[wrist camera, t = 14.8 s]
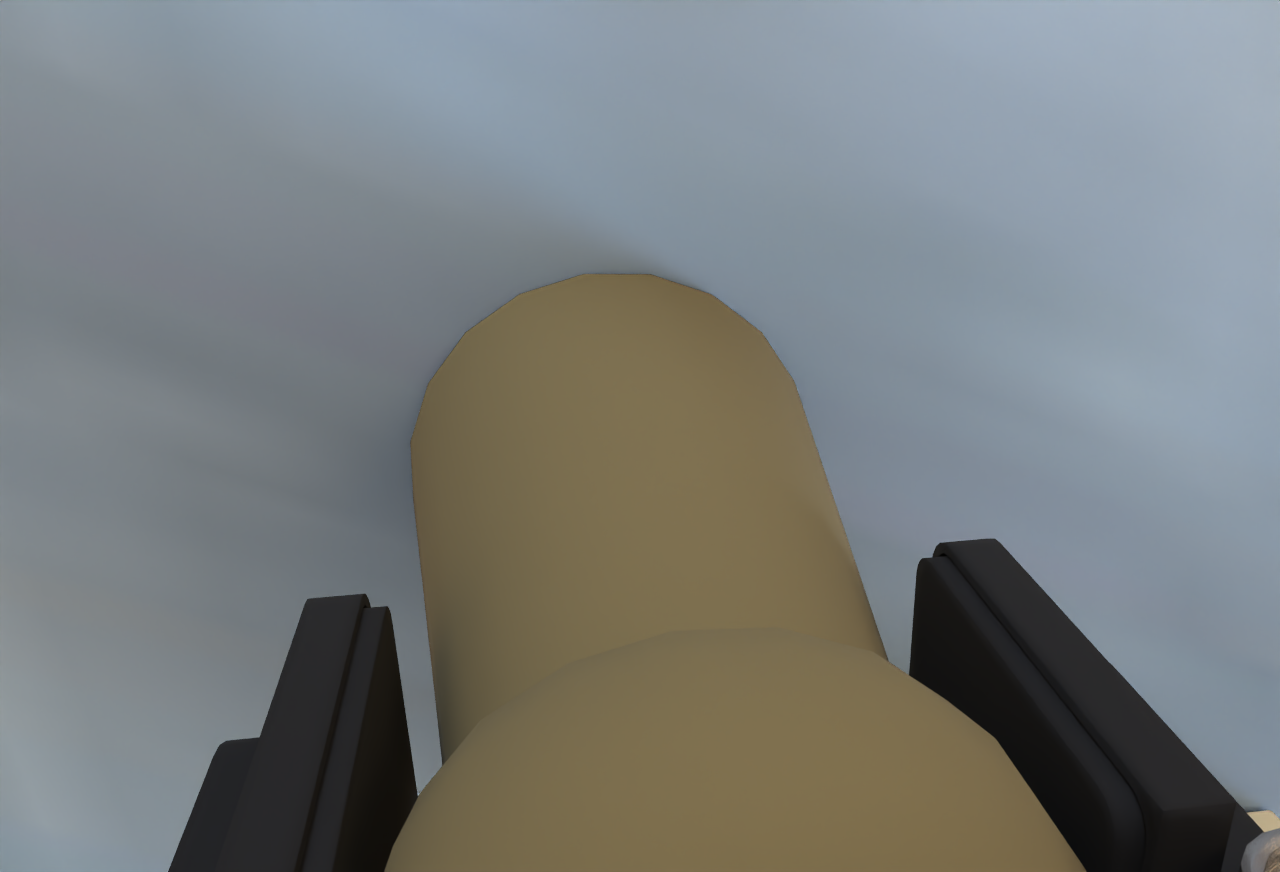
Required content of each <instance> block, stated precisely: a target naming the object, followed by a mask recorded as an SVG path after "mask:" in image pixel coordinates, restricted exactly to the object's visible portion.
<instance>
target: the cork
mask: <svg viewBox="0 0 1280 872" xmlns="http://www.w3.org/2000/svg"><path fill="white" fill-rule="evenodd" d="M410 444H411V463H412V482H413V501H414V510H415V519H416V528H417V537H418V546H419V555H420V564H421V573H422V583H423V592H424V601H425V610H426V619H427V628H428V637H429V646H430V655H431V665H432V674H433V683H434V692H435V701H436V710H437V719H438V728H439V737H440V747H441V756H442V765H443V766H442V767H441V768H440V770H439V771H438V772H437V773H436V775H435V776H434V777H433V778H432V779H431V781H430V782H429V783H428V784H427V785H426V787H425V788H424V789H423V790H422V791H421V793H420V795H419V796H418V798H417V800H416V802H415V804H414V806H413V808H412V810H411V812H410V814H409V816H408V818H407V820H406V822H405V824H404V826H403V828H402V830H401V832H400V834H399V835H398V837H397V839H396V841H395V843H394V845H393V847H392V850H391V853H390V856H389V859H388V862H387V865H386V868H385V871H384V872H1086V870H1085V868H1084V867H1083V865H1082V864H1081V862H1080V861H1079V859H1078V858H1077V856H1076V855H1075V853H1074V852H1073V850H1072V849H1071V848H1070V846H1069V845H1068V843H1067V842H1066V840H1065V839H1064V837H1063V836H1062V834H1061V833H1060V831H1059V830H1058V828H1057V827H1056V825H1055V824H1054V823H1053V821H1052V820H1051V818H1050V817H1049V815H1048V814H1047V812H1046V811H1045V809H1044V808H1043V806H1042V805H1041V803H1040V802H1039V801H1038V799H1037V798H1036V796H1035V795H1034V793H1033V792H1032V790H1031V789H1030V787H1029V786H1028V785H1027V783H1026V782H1025V780H1024V779H1023V777H1022V776H1021V774H1020V773H1019V772H1018V770H1017V769H1016V767H1015V766H1014V764H1013V763H1012V761H1011V760H1010V759H1009V757H1008V756H1007V754H1006V753H1005V751H1004V750H1003V748H1002V747H1001V746H1000V744H999V743H998V741H997V740H996V738H994V737H993V736H992V735H991V734H989V733H988V732H987V731H985V730H984V729H983V728H982V727H980V726H979V725H978V724H977V723H975V722H974V721H973V720H971V719H970V718H969V717H968V716H966V715H965V714H964V713H962V712H961V711H960V710H959V709H957V708H956V707H955V706H954V705H952V704H951V703H950V702H948V701H947V700H946V699H944V698H943V697H941V696H940V695H938V694H937V693H935V692H934V691H932V690H931V689H929V688H928V687H926V686H925V685H923V684H921V683H920V682H918V681H917V680H915V679H914V678H912V677H911V676H909V675H908V674H906V673H905V672H903V671H902V670H900V669H899V668H897V667H896V666H894V665H893V664H891V663H890V662H889V661H888V658H887V655H886V652H885V649H884V646H883V643H882V640H881V637H880V634H879V631H878V628H877V625H876V622H875V619H874V616H873V613H872V610H871V607H870V604H869V602H868V599H867V596H866V593H865V590H864V587H863V584H862V581H861V578H860V575H859V572H858V569H857V566H856V563H855V560H854V557H853V554H852V551H851V548H850V545H849V542H848V539H847V536H846V533H845V531H844V528H843V525H842V522H841V519H840V516H839V513H838V510H837V507H836V504H835V501H834V498H833V495H832V492H831V489H830V486H829V483H828V480H827V477H826V474H825V471H824V468H823V465H822V462H821V459H820V457H819V454H818V451H817V448H816V445H815V442H814V439H813V436H812V433H811V430H810V427H809V424H808V421H807V418H806V415H805V412H804V409H803V406H802V403H801V400H800V397H799V394H798V391H797V388H796V385H795V383H794V380H793V379H792V377H791V376H790V374H789V373H788V371H787V370H786V368H785V367H784V365H783V364H782V362H781V361H780V359H779V358H778V356H777V355H776V353H775V352H774V350H773V349H772V347H771V346H770V344H769V343H768V341H767V340H766V338H765V337H764V335H763V334H762V332H761V331H759V330H758V329H757V328H755V327H754V326H753V325H751V324H750V323H749V322H748V321H746V320H745V319H744V318H742V317H741V316H740V315H738V314H737V313H736V312H734V311H733V310H732V309H730V308H729V307H728V306H726V305H725V304H724V303H722V302H721V301H720V300H718V299H717V298H716V297H714V296H713V295H711V294H708V293H705V292H702V291H699V290H696V289H693V288H690V287H687V286H684V285H681V284H678V283H675V282H672V281H669V280H666V279H663V278H660V277H657V276H654V275H651V274H583V275H579V276H576V277H573V278H570V279H567V280H563V281H560V282H557V283H554V284H551V285H547V286H544V287H541V288H538V289H535V290H532V291H528V292H525V293H522V294H519V295H518V296H516V297H515V298H514V299H512V300H511V301H509V302H508V303H507V304H505V305H504V306H502V307H501V308H499V309H498V310H497V311H495V312H494V313H492V314H491V315H490V316H488V317H487V318H485V319H484V320H483V321H481V322H480V323H478V324H477V325H475V326H474V327H473V328H471V329H470V330H468V331H467V332H466V333H465V334H464V335H463V337H462V338H461V339H460V341H459V342H458V344H457V345H456V346H455V348H454V349H453V350H452V352H451V353H450V355H449V356H448V357H447V359H446V360H445V361H444V363H443V364H442V365H441V367H440V368H439V370H438V371H437V372H436V374H435V375H434V376H433V378H432V379H431V380H430V382H429V383H428V386H427V389H426V392H425V396H424V399H423V402H422V405H421V409H420V412H419V415H418V419H417V422H416V425H415V428H414V432H413V435H412V438H411V442H410Z"/></svg>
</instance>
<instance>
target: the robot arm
mask: <svg viewBox="0 0 1280 872" xmlns="http://www.w3.org/2000/svg"><path fill="white" fill-rule="evenodd" d="M909 676H911V677H912V678H914V679H915V680H917V681H918V682H920V683H921V684H923V685H925V686H926V687H928V688H929V689H931V690H932V691H934V692H935V693H937V694H938V695H940V696H941V697H943V698H944V699H946V700H947V701H948V702H950V703H951V704H952V705H954V706H955V707H956V708H957V709H959V710H960V711H961V712H962V713H964V714H965V715H966V716H968V717H969V718H970V719H971V720H973V721H974V722H975V723H977V724H978V725H979V726H980V727H982V728H983V729H984V730H985V731H987V732H988V733H989V734H991V735H992V736H993V737H994V738H996V740H997V741H998V743H999V744H1000V746H1001V747H1002V748H1003V750H1004V751H1005V753H1006V754H1007V756H1008V757H1009V759H1010V760H1011V761H1012V763H1013V764H1014V766H1015V767H1016V769H1017V770H1018V772H1019V773H1020V774H1021V776H1022V777H1023V779H1024V780H1025V782H1026V783H1027V785H1028V786H1029V787H1030V789H1031V790H1032V792H1033V793H1034V795H1035V796H1036V798H1037V799H1038V801H1039V802H1040V803H1041V805H1042V806H1043V808H1044V809H1045V811H1046V812H1047V814H1048V815H1049V817H1050V818H1051V820H1052V821H1053V823H1054V824H1055V825H1056V827H1057V828H1058V830H1059V831H1060V833H1061V834H1062V836H1063V837H1064V839H1065V840H1066V842H1067V843H1068V845H1069V846H1070V848H1071V849H1072V850H1073V852H1074V853H1075V855H1076V856H1077V858H1078V859H1079V861H1080V862H1081V864H1082V865H1083V867H1084V868H1085V870H1086V872H1280V828H1278V829H1274V830H1271V831H1267V832H1264V831H1263V830H1262V829H1261V828H1260V827H1259V826H1258V825H1257V823H1256V822H1255V821H1254V820H1253V819H1252V818H1251V817H1250V816H1249V815H1248V814H1247V813H1246V811H1245V810H1244V809H1243V808H1242V807H1241V806H1240V805H1239V804H1238V803H1237V802H1236V800H1235V799H1234V798H1233V797H1232V796H1231V795H1230V794H1229V793H1228V792H1227V791H1226V789H1225V788H1224V787H1223V786H1222V785H1221V784H1220V783H1219V782H1218V781H1217V780H1216V778H1215V777H1214V776H1213V775H1212V774H1211V773H1210V772H1209V771H1208V770H1207V769H1206V768H1205V766H1204V765H1203V764H1202V763H1201V762H1200V761H1199V760H1198V759H1197V758H1196V757H1195V755H1194V754H1193V753H1192V752H1191V751H1190V750H1189V749H1188V748H1187V747H1186V746H1185V744H1184V743H1183V742H1182V741H1181V740H1180V739H1179V738H1178V737H1177V736H1176V735H1175V733H1174V732H1173V731H1172V730H1171V729H1170V728H1169V727H1168V726H1167V725H1166V724H1165V723H1164V721H1163V720H1162V719H1161V718H1160V717H1159V716H1158V715H1157V714H1156V713H1155V712H1154V710H1153V709H1152V708H1151V707H1150V706H1149V705H1148V704H1147V703H1146V702H1145V701H1144V699H1143V698H1142V697H1141V696H1140V695H1139V694H1138V693H1137V692H1136V691H1135V690H1134V689H1133V687H1132V686H1131V685H1130V684H1129V683H1128V682H1127V681H1126V680H1125V679H1124V678H1123V676H1122V675H1121V674H1120V673H1119V672H1118V671H1117V670H1116V669H1115V668H1114V667H1113V666H1112V665H1111V664H1110V663H1109V662H1108V661H1107V660H1106V659H1105V658H1104V657H1103V655H1102V654H1101V653H1100V652H1099V651H1098V650H1097V649H1096V648H1095V647H1094V646H1093V644H1092V643H1091V642H1090V641H1089V640H1088V639H1087V638H1086V637H1085V636H1084V635H1083V633H1082V632H1081V631H1080V630H1079V629H1078V628H1077V627H1076V626H1075V625H1074V624H1073V622H1072V621H1071V620H1070V619H1069V618H1068V617H1067V616H1066V615H1065V614H1064V613H1063V611H1062V610H1061V609H1060V608H1059V607H1058V606H1057V605H1056V604H1055V603H1054V602H1053V600H1052V599H1051V598H1050V597H1049V596H1048V595H1047V594H1046V593H1045V592H1044V591H1043V589H1042V588H1041V587H1040V586H1039V585H1038V584H1037V583H1036V582H1035V581H1034V580H1033V579H1032V577H1031V576H1030V575H1029V574H1028V573H1027V572H1026V571H1025V570H1024V569H1023V568H1022V566H1021V565H1020V564H1019V563H1018V562H1017V561H1016V560H1015V559H1014V558H1013V557H1012V555H1011V554H1010V553H1009V552H1008V551H1007V550H1006V549H1005V548H1004V547H1003V546H1002V544H1001V543H1000V542H998V541H997V540H996V539H979V540H968V541H956V542H945V543H939V544H938V545H937V546H936V548H935V551H934V553H933V557H932V558H922V559H921V560H920V562H919V564H918V568H917V575H916V588H915V602H914V616H913V630H912V643H911V657H910V671H909ZM417 798H418V796H417V789H416V782H415V775H414V768H413V761H412V754H411V747H410V741H409V734H408V727H407V720H406V713H405V706H404V699H403V692H402V686H401V679H400V672H399V665H398V658H397V651H396V644H395V637H394V630H393V624H392V618H391V613H390V610H389V608H388V606H385V607H374V608H371V607H370V602H369V599H368V597H367V595H366V594H357V595H345V596H334V597H323V598H312V599H307V601H306V603H305V605H304V608H303V611H302V614H301V617H300V620H299V623H298V626H297V629H296V632H295V635H294V638H293V641H292V644H291V647H290V650H289V652H288V655H287V658H286V661H285V664H284V667H283V670H282V673H281V676H280V679H279V682H278V685H277V688H276V691H275V694H274V697H273V700H272V703H271V706H270V709H269V711H268V714H267V717H266V720H265V723H264V726H263V729H262V732H261V735H260V738H250V739H240V740H230V741H225V742H224V743H222V744H221V745H219V747H218V749H217V751H216V753H215V754H214V756H213V759H212V761H211V764H210V766H209V769H208V771H207V774H206V777H205V779H204V782H203V784H202V787H201V789H200V792H199V794H198V797H197V800H196V802H195V805H194V807H193V810H192V812H191V815H190V817H189V820H188V822H187V825H186V828H185V830H184V833H183V835H182V838H181V840H180V843H179V845H178V848H177V851H176V853H175V856H174V858H173V861H172V863H171V866H170V868H169V871H168V872H384V871H385V868H386V865H387V862H388V859H389V856H390V853H391V850H392V847H393V845H394V843H395V841H396V839H397V837H398V835H399V834H400V832H401V830H402V828H403V826H404V824H405V822H406V820H407V818H408V816H409V814H410V812H411V810H412V808H413V806H414V804H415V802H416V800H417Z"/></svg>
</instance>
